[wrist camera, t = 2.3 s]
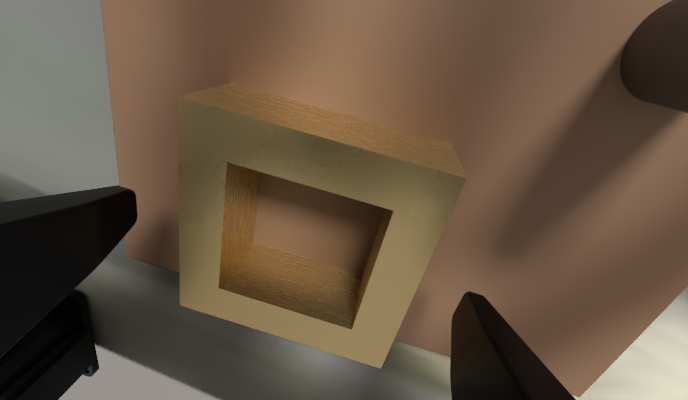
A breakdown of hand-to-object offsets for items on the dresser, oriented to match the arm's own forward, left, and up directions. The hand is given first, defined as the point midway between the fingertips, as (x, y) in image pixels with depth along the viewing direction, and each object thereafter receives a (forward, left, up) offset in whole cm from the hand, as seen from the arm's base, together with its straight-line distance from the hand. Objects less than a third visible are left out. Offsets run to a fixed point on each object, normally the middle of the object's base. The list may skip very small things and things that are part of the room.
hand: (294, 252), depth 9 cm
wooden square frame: (0, 0, -2) cm, 2 cm away
